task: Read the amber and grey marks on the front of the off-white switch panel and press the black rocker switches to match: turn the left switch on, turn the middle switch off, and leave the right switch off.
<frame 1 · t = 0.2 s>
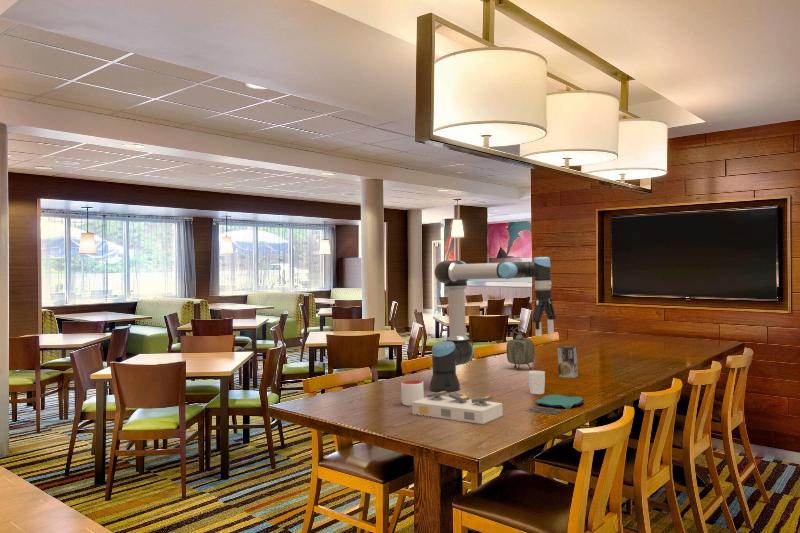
hand: (544, 334, 287), 28 cm above the table, tool pointing down, fingers open, 13 cm apart
switch middle: (458, 396, 254), point 7 cm above the table, hinge at 12.0°
cup: (412, 404, 275), on the table
switch right: (481, 399, 247), point 7 cm above the table, hinge at -12.0°
tabletop clock: (520, 370, 356), on the table
coffee box: (568, 377, 329), on the table
white cup: (537, 393, 289), on the table
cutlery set: (554, 407, 262), on the table
switch left: (437, 394, 261), point 7 cm above the table, hinge at -12.0°
switch panel: (456, 414, 252), on the table
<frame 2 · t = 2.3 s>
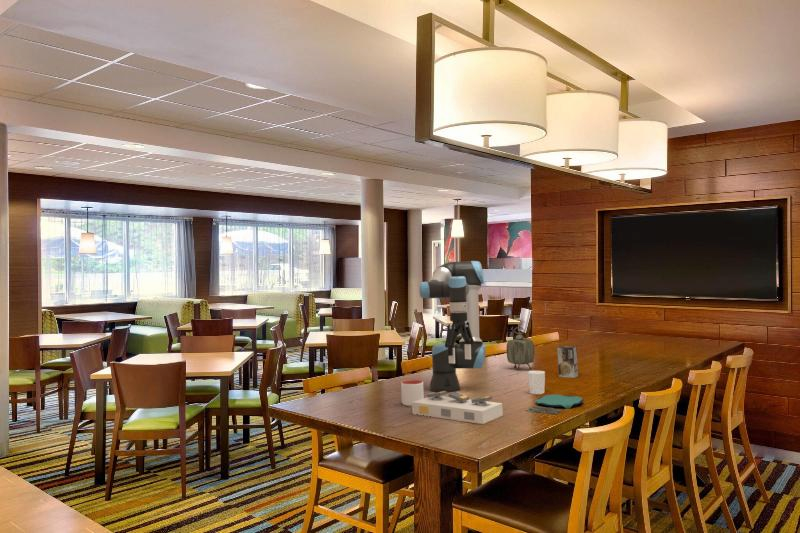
hand: (460, 361, 263), 20 cm above the table, tool pointing down, fingers open, 13 cm apart
nothing on the table moved.
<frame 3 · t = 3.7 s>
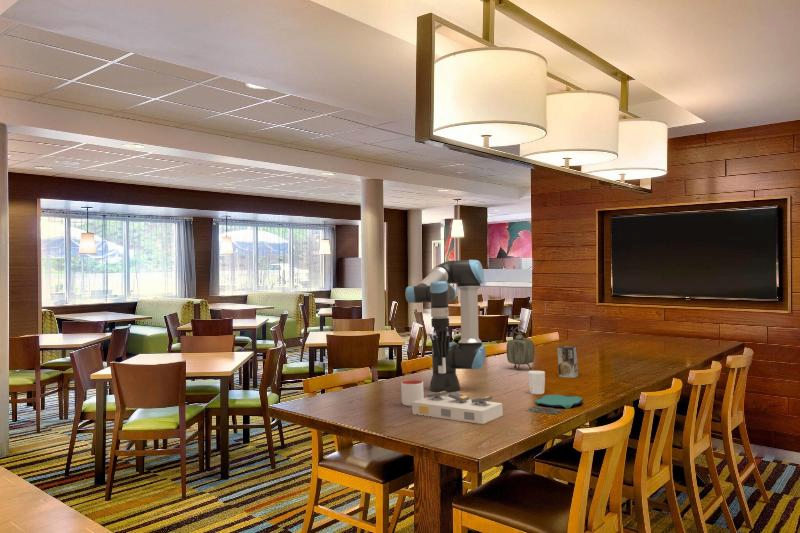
hand: (442, 372, 259), 16 cm above the table, tool pointing down, fingers closed
nothing on the table moved.
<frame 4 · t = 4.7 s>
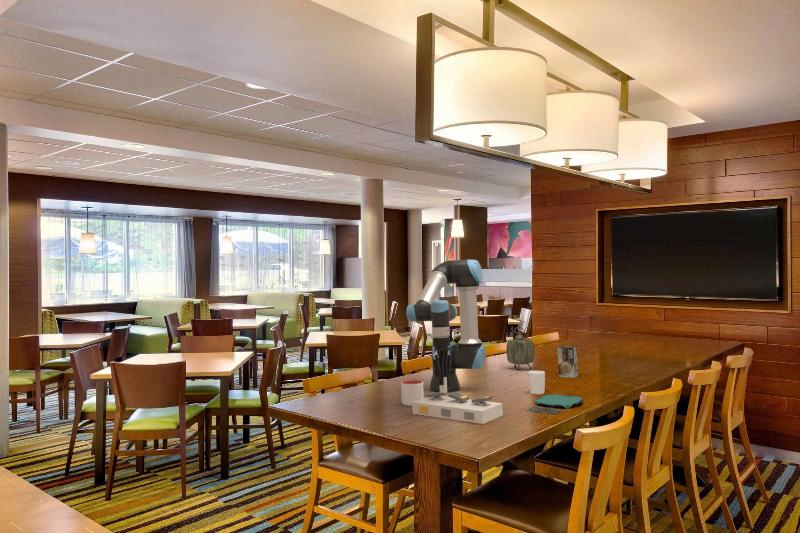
hand: (443, 392, 258), 8 cm above the table, tool pointing down, fingers closed
switch left: (437, 394, 261), point 7 cm above the table, hinge at -10.9°, touching gripper
everything else where it was.
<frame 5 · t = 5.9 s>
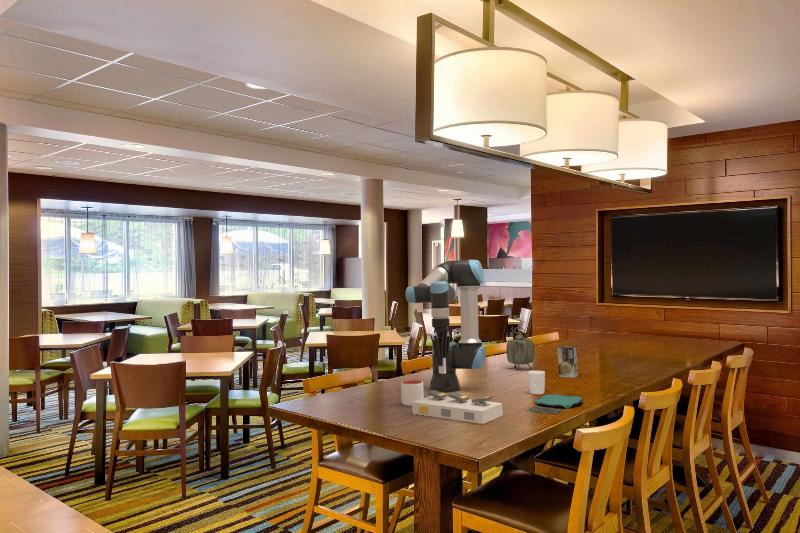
hand: (442, 373, 259), 16 cm above the table, tool pointing down, fingers closed
switch left: (437, 394, 261), point 7 cm above the table, hinge at 10.7°
everything else where it was.
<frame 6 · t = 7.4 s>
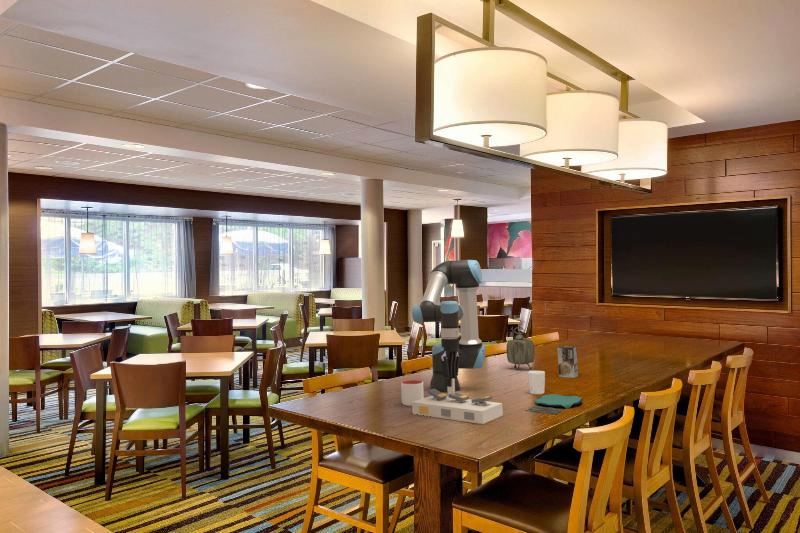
hand: (451, 393, 256), 8 cm above the table, tool pointing down, fingers closed
switch middle: (458, 396, 254), point 7 cm above the table, hinge at 7.0°, touching gripper
switch left: (437, 394, 261), point 7 cm above the table, hinge at 20.7°
everything else where it was.
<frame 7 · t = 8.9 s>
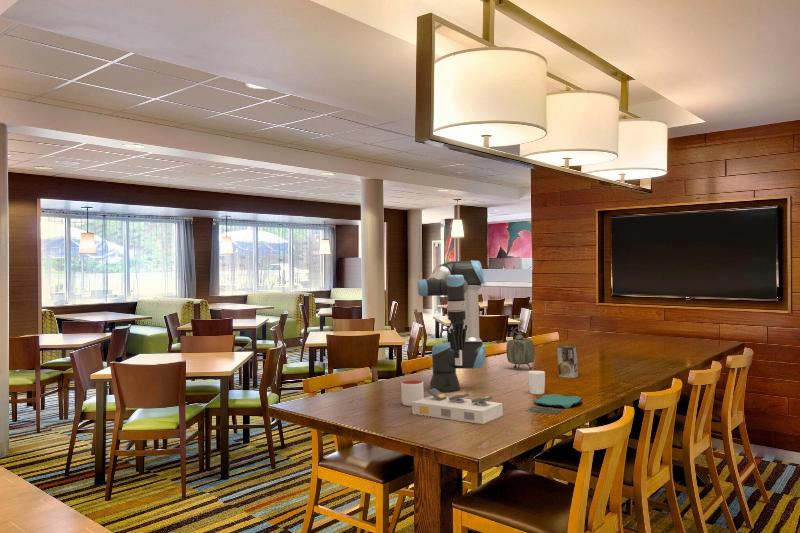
hand: (458, 365, 263), 19 cm above the table, tool pointing down, fingers closed
switch middle: (458, 396, 254), point 7 cm above the table, hinge at -15.6°
switch left: (437, 394, 261), point 7 cm above the table, hinge at 25.0°, touching switch panel
everything else where it was.
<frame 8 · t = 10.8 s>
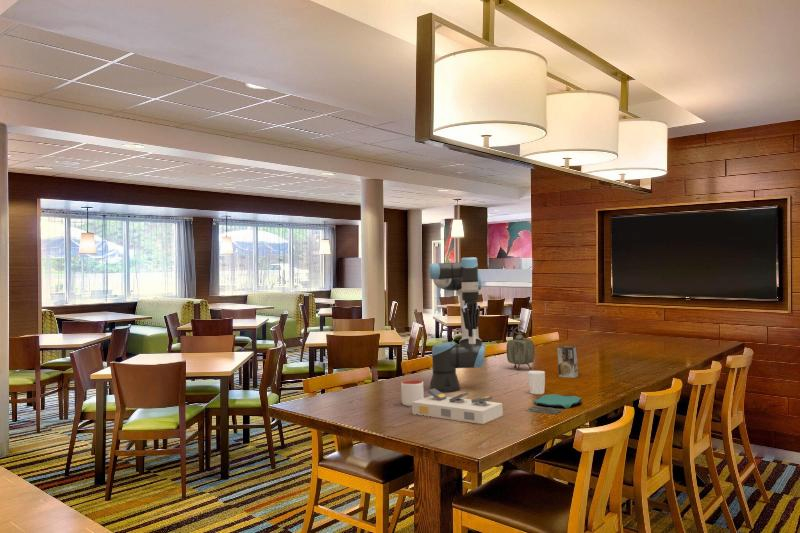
hand: (472, 343, 275), 26 cm above the table, tool pointing down, fingers closed
switch middle: (458, 396, 254), point 7 cm above the table, hinge at -24.8°, touching switch panel
switch left: (437, 394, 261), point 7 cm above the table, hinge at 24.1°
everything else where it was.
at the end: switch left at +24° (first picture: -12°); switch middle at -25° (first picture: +12°); switch right at -12° (first picture: -12°) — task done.
